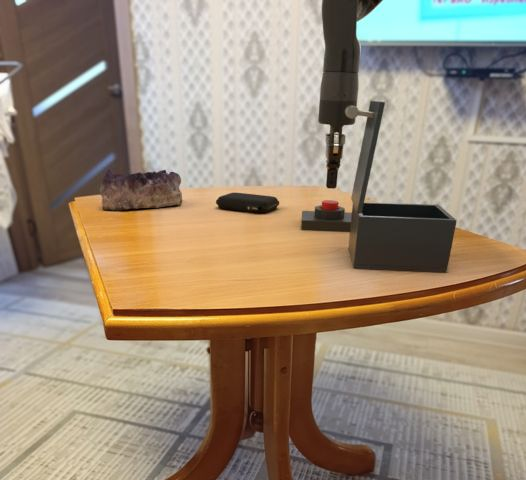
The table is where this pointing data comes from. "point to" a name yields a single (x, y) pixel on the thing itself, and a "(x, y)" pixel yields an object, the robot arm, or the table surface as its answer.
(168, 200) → the geode
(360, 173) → the hinged box lid
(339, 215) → the button block
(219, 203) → the carrying case
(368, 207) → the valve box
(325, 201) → the red button
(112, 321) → the table surface
